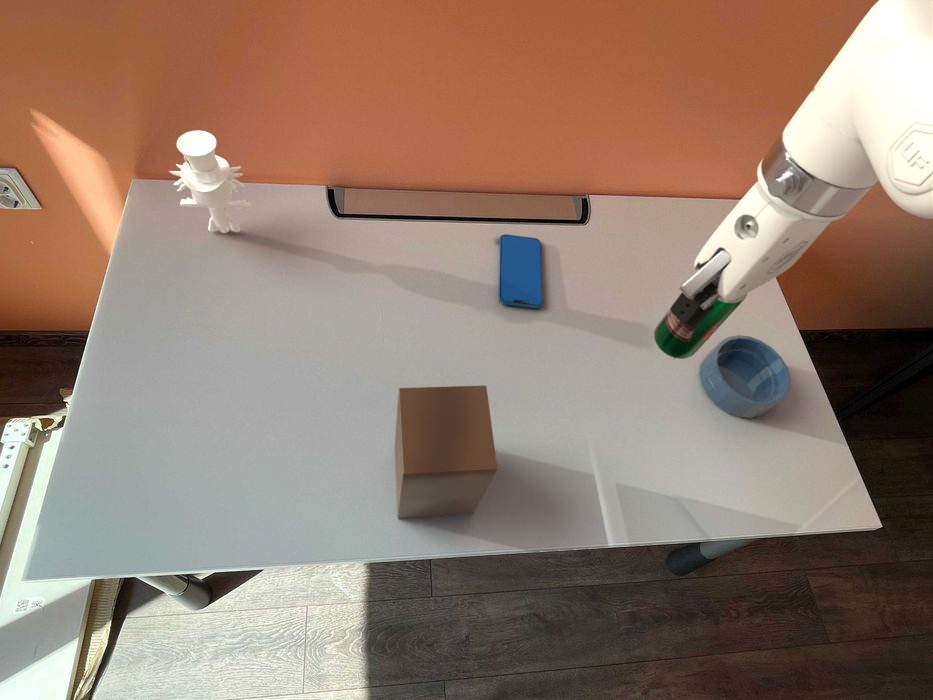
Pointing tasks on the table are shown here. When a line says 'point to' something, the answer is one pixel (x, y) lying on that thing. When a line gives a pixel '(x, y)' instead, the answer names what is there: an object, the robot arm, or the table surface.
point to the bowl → (745, 376)
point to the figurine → (208, 179)
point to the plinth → (442, 450)
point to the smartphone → (520, 271)
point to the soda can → (686, 343)
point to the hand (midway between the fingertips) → (702, 307)
